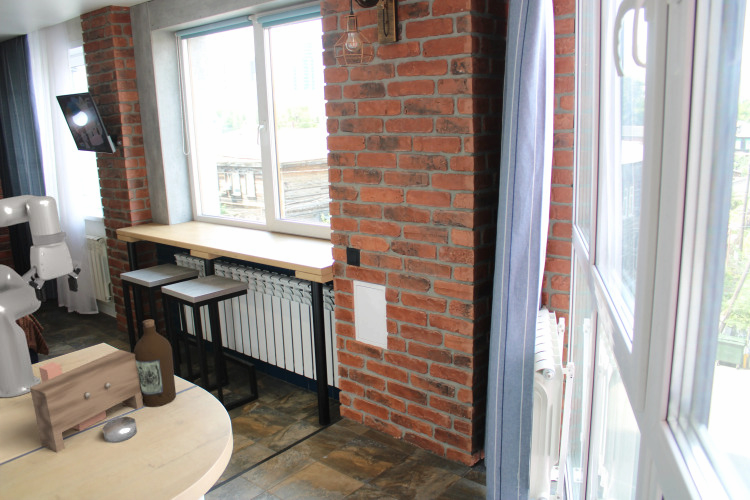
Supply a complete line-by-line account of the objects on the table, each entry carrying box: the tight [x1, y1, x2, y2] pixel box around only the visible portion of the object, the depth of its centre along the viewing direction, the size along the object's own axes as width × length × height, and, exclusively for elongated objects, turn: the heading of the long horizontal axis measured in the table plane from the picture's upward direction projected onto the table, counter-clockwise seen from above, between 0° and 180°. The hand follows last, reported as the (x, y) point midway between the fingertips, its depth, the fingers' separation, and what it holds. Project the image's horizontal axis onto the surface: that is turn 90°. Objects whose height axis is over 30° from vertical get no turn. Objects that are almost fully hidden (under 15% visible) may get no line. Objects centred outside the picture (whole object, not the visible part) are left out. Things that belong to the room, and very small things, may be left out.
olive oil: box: [132, 319, 177, 408], centre depth 169 cm, size 11×11×25 cm
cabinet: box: [30, 349, 144, 453], centre depth 157 cm, size 8×26×17 cm, turn 149°
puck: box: [102, 416, 138, 444], centre depth 154 cm, size 8×8×3 cm
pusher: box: [38, 361, 107, 432], centre depth 163 cm, size 19×8×14 cm, turn 59°
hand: (58, 295), depth 169 cm, fingers open, 9 cm apart
